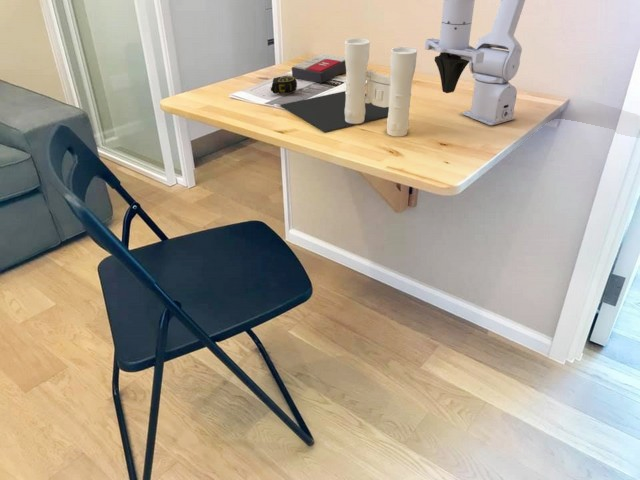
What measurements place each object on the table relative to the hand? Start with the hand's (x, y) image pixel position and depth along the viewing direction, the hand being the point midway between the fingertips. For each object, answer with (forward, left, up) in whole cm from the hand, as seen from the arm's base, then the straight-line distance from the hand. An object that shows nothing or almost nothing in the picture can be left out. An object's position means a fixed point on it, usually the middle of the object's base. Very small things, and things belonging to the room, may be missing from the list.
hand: (448, 91), depth 109 cm
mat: (+29, +8, -11) cm, 31 cm away
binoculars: (+14, +8, -10) cm, 19 cm away
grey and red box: (+58, -4, -11) cm, 59 cm away
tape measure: (+49, +14, -11) cm, 52 cm away
